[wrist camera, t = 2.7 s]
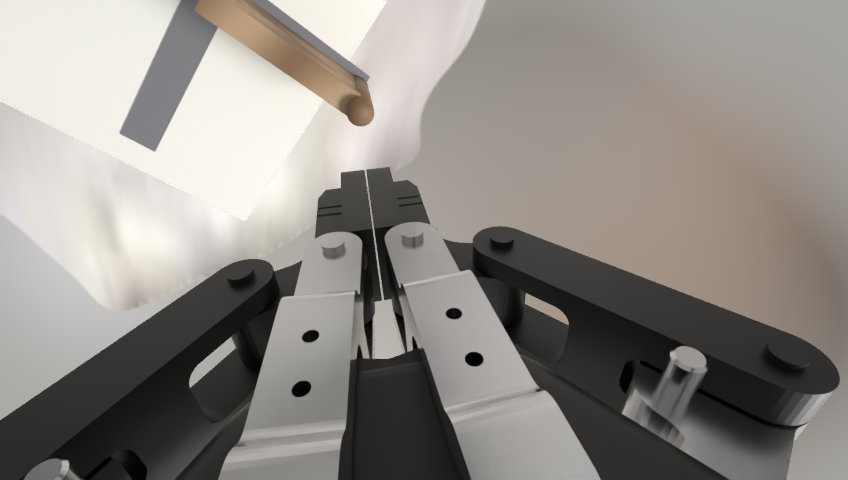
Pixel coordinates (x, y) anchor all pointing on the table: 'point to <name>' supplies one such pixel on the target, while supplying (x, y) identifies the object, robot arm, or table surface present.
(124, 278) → the table surface
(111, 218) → the table surface
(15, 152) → the table surface
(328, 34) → the board
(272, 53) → the fixed fence section
